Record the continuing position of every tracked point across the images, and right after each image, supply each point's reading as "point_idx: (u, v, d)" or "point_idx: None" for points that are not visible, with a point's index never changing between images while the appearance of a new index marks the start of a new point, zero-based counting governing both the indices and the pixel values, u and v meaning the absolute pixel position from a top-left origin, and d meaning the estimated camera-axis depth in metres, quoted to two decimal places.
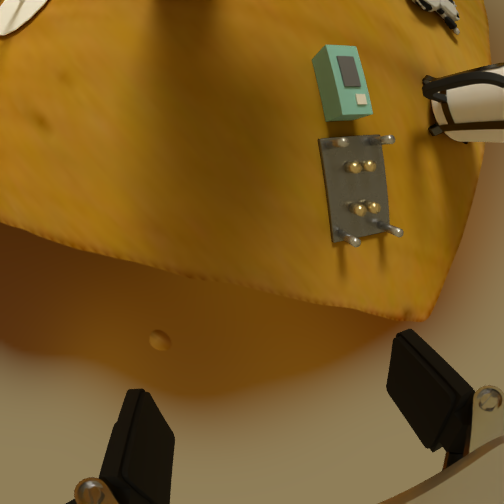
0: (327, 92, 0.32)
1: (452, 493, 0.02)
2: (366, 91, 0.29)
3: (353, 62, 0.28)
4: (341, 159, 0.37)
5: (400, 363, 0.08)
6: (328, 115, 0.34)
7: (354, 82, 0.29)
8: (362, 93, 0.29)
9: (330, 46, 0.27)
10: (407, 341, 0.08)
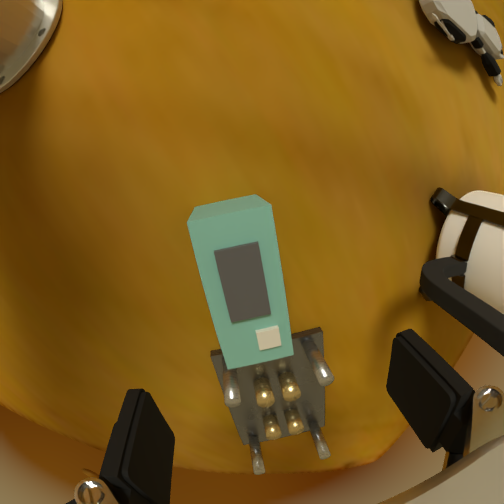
0: None
1: (452, 493, 0.02)
2: (284, 317, 0.17)
3: (256, 259, 0.15)
4: (249, 376, 0.24)
5: (400, 363, 0.08)
6: None
7: (255, 309, 0.16)
8: (273, 325, 0.17)
9: (199, 224, 0.15)
10: (408, 341, 0.08)
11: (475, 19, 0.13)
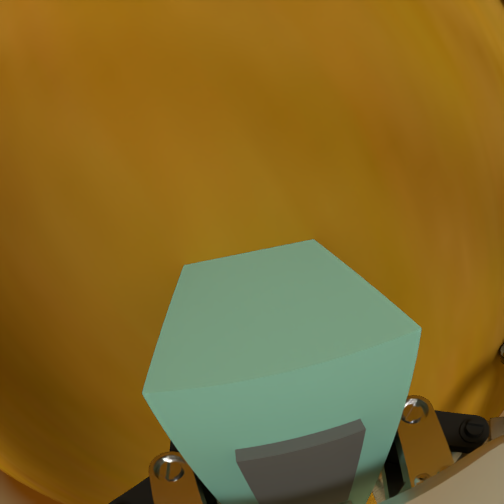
0: None
1: (452, 493, 0.02)
2: (366, 490, 0.06)
3: (350, 455, 0.04)
4: None
5: None
6: None
7: (319, 503, 0.05)
8: (344, 503, 0.06)
9: (186, 400, 0.04)
10: None
11: None
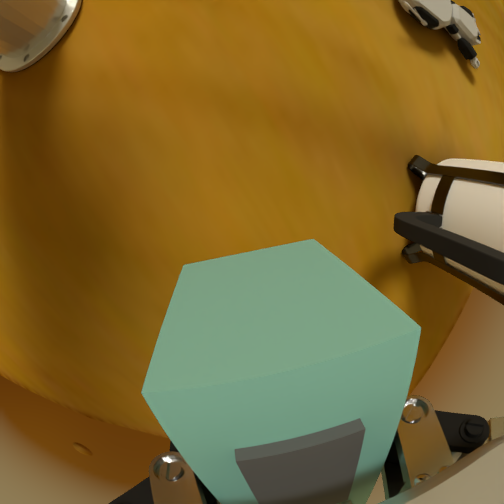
0: None
1: (452, 493, 0.02)
2: (366, 490, 0.06)
3: (349, 455, 0.04)
4: None
5: None
6: None
7: (319, 503, 0.05)
8: (345, 502, 0.06)
9: (185, 399, 0.04)
10: None
11: (450, 7, 0.15)
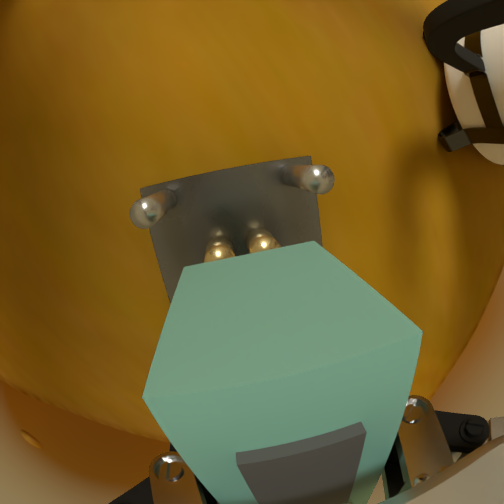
0: None
1: (452, 493, 0.02)
2: (367, 492, 0.06)
3: (350, 457, 0.04)
4: (198, 232, 0.16)
5: None
6: None
7: None
8: None
9: (186, 404, 0.04)
10: None
11: None
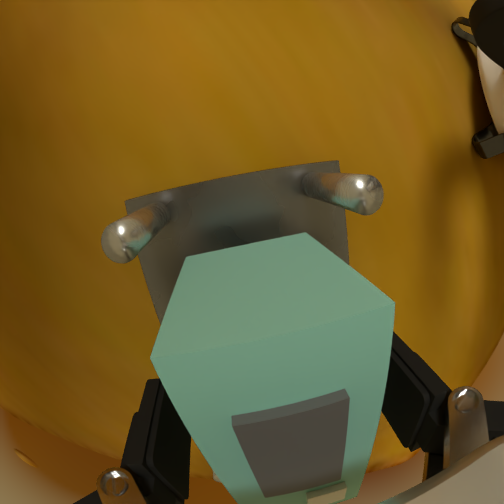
0: None
1: (452, 493, 0.02)
2: (359, 471, 0.07)
3: (337, 425, 0.05)
4: None
5: None
6: None
7: (313, 480, 0.06)
8: (338, 484, 0.07)
9: (188, 364, 0.05)
10: None
11: None
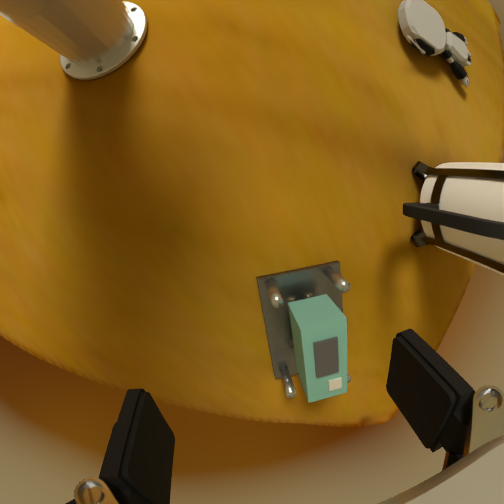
0: (299, 361, 0.29)
1: (452, 493, 0.02)
2: (345, 372, 0.26)
3: (335, 346, 0.25)
4: (284, 299, 0.33)
5: (400, 363, 0.08)
6: (299, 375, 0.31)
7: (330, 370, 0.26)
8: (338, 377, 0.26)
9: (307, 329, 0.25)
10: (407, 341, 0.08)
11: (444, 36, 0.23)
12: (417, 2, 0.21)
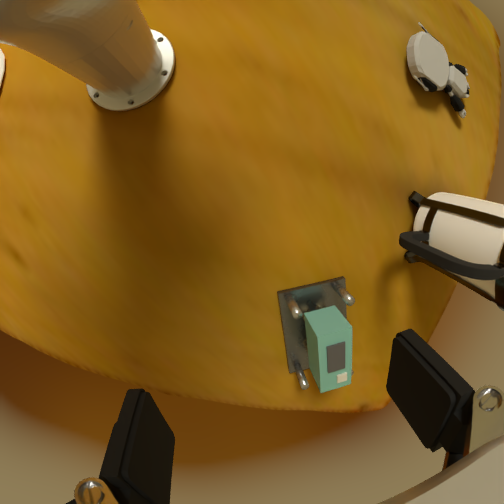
0: (313, 360, 0.36)
1: (452, 493, 0.02)
2: (349, 368, 0.33)
3: (343, 348, 0.32)
4: (300, 309, 0.39)
5: (400, 363, 0.08)
6: (312, 370, 0.38)
7: (339, 367, 0.33)
8: (345, 372, 0.33)
9: (322, 337, 0.31)
10: (407, 342, 0.08)
11: (447, 72, 0.28)
12: (425, 39, 0.26)
